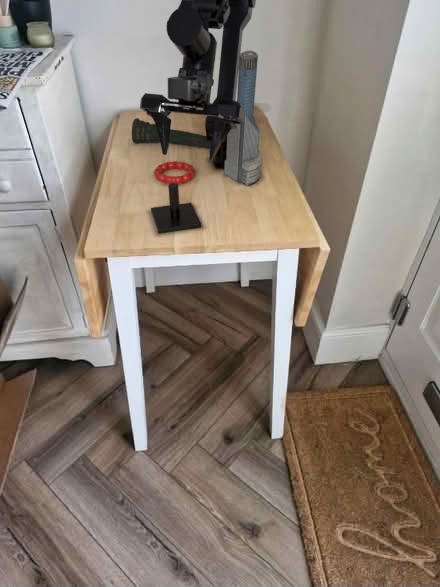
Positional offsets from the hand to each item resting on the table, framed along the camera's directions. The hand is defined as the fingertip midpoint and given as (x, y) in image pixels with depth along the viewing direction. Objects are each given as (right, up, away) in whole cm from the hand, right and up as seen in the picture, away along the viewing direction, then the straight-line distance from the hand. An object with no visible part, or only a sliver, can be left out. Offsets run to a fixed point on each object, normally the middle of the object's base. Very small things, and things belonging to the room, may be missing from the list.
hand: (187, 157), depth 80 cm
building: (+12, +4, +26) cm, 29 cm away
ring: (-5, +4, +25) cm, 26 cm away
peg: (-3, -10, +11) cm, 15 cm away
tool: (-5, +17, +41) cm, 44 cm away
